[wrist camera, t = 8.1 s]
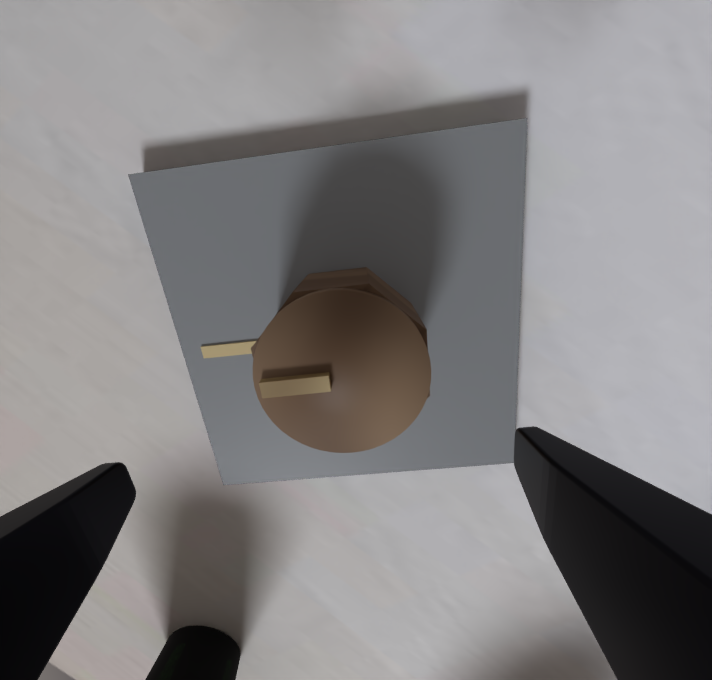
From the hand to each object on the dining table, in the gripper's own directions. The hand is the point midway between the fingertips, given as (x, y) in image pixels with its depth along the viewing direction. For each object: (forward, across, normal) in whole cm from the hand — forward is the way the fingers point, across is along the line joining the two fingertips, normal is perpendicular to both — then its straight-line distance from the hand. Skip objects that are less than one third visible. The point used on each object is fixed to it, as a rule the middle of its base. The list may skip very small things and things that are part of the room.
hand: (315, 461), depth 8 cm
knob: (+9, 0, 0) cm, 9 cm away
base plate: (+10, 0, 0) cm, 10 cm away
